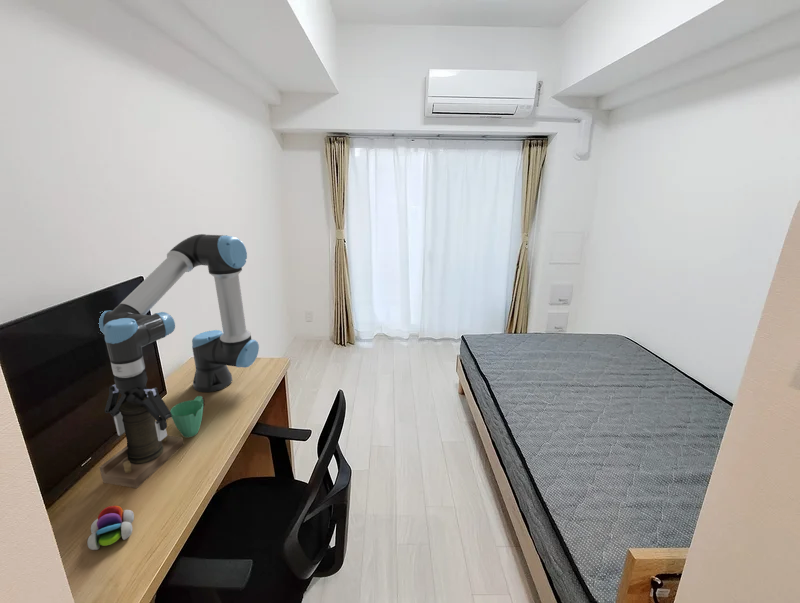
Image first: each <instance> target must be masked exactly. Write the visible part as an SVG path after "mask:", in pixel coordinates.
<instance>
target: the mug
mask: <svg viewBox="0 0 800 603" xmlns="http://www.w3.org/2000/svg"><path fill="white" fill-rule="evenodd" d="M204 410H205V398H204V397H203V396H202V395H197V396H196V397H195V398H194V399H193V400H191V399H190V400H186V401H185V400H184V401H181V402H179V403H177V404H175V405H174V406H172V407H171V409H169V411H170V412H171V414H172V416H171V417H170V418H171V419H172V422H173V424H174V425H175V428H177V430H178V432H179V433H180V434H181V436H182V438H183V437H184V438H192V437H194V436H196V435H198V433H199V430H200V428H201V423H202V420H203V415H204Z"/></svg>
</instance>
